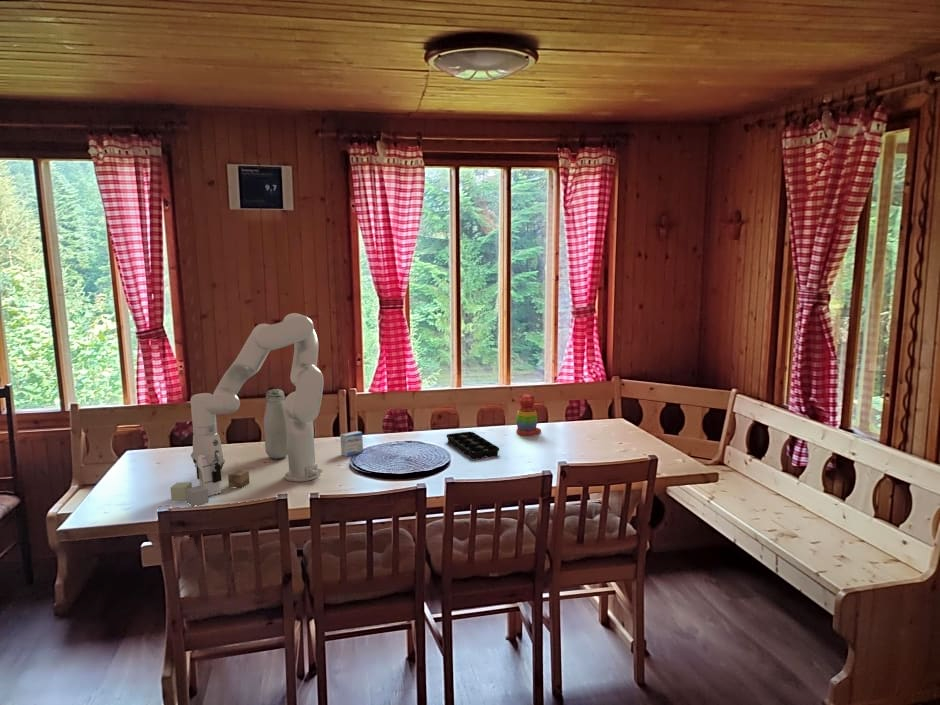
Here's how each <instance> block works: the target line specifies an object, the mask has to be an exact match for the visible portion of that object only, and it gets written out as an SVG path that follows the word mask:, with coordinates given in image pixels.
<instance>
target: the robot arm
mask: <svg viewBox="0 0 940 705" xmlns="http://www.w3.org/2000/svg"><path fill="white" fill-rule="evenodd" d="M314 325H315V324H314V322H313V321H312V319H311V318H309V317H308V316H307V315H305V314H304V315H303V314H300V313H296V312H293V313H291V312H290V313H289V314H287V315H285V316H284V318H283V320H282V321H281V322H280V321H279V322H278V323H273V324H269V323H260V324H257V325H256V326H255V327H254V328H253V329H252V331H251V332H250V335H249V336H248V338H247V339H246V342H245V343H244V344H243V347H242V349H241V350H240V352H239V354H237V357H236V358H235V360H234V361H233V363H232V364H231V365H230V366H229V368H228V369H226V371H225V373H224V374H223V376H222V378H220V381H219V382H218V385H217V386H216V387H215V390H214V391H213V393H210V392H204V393H203V392H202V393H196V394H193V395H191V397H190V408H191V409H190V410H191V421H192V422H191V423H192V434H193V436H192V452H191V453H190V457H191V459H192V461H193V463H194V467H195V468H196V469H195V470H196V478H197V480H199V471H198V462H197V461H198V455H205V457H206V461H207V463H208V464H210V465H211V467H212V469H213V471H212V480H213V483H216V482H219V481H220V482H221V481H222V470H223V468H224V464H225V462H226V459H224V455H223V447H222V442H221V438H220V434H219V433H218V427H217V426H218V424H217V415H231V414H233V413H236V412H237V411H238V409H239V408H240V406H241V400H240V398H239V396H238V393H239V392H240V390H241V388H242V386H243V385H244V384H245V383H246V381H248V379H250V378H251V377H253V376H254V375H256V374H257V373H258V372H259V371H260V370H261V368H262V366H263V364H264V362H265V361H266V359H267V357H268V355H269V353H270V351H274V350H279V349H282V348H284V347H285V348H286V347H288V346H291V345H294V348H293V349H294V350H293V358H292V365H291V371H290V375H289V376H290V382H291V383H292V384H293V386H295V391H293V392H290V393H289V394H288V395H286V396H285V399H284V414H285V420H286V428H287V445H288V455H287V458H288V459H287V460H288V471H287V472H286V473H285V474H284V478H285V480H286V481H290V482H295V483H296V482H300V483H301V482H308V481H311V480H314V479H317V478H319V477H320V476H321V474H322V473H323V469H322V468H318V463H316V454H315V453H316V451H315V436H314V435H315V433H314V432H315V431H314V428H315V427H314V421H315V420H316V419H317V417H318V416H319V413H320V411H321V409H320V408H321V404H322V398H323V391H324V383H325V380H324V374H323V373H322V371H321V370H320V369H319V368H318V359H319V349H320V348H319V340H318V336H317V333H316V331H315V329H314V328H315V326H314ZM215 457H216V458H217V461H215V462H214V460H215ZM216 463H217V466H216V467H215V465H214V464H216Z"/></svg>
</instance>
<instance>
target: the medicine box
mask: <svg viewBox="0 0 940 705" xmlns="http://www.w3.org/2000/svg"><path fill="white" fill-rule="evenodd" d="M339 436H340V453H341V454H340V455H342V456H344V457H347V458H348V457H351V456H355V454H356V455H359V454H358V453H360V454H362V453H361V452H363V453H364V445H363V439H364V438H363V432H362V431H358V430H356V431H355V430H354V431H351V432H350V431H349V432H347V433H346V432H345V433H341V434H340V435H339Z"/></svg>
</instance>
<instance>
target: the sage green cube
mask: <svg viewBox="0 0 940 705" xmlns="http://www.w3.org/2000/svg"><path fill="white" fill-rule="evenodd" d="M192 487H193V482H192V481H188V482H187V481H185V482H183V481H181V482H178V481H177V482H176V483H174V484H173V485H172V486H171V487H170V498H171V499H170V500H171V502H172V501H187V499H186V489H189V488H192Z"/></svg>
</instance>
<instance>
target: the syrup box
mask: <svg viewBox="0 0 940 705" xmlns="http://www.w3.org/2000/svg"><path fill="white" fill-rule="evenodd" d="M215 461H217V458H216V457H215V460H214V462H215ZM197 462H198V471H199V479H198V480H199V485H201V486H203V487H205V488H208V497H210V495H212V496H215V495H214V494H216V495H219V494H218V493H220V494H221V493H222V487H221V486H222V485H221V481H219V482H216V483H213V480H212V471H213V469H212V467H211V465H210V464H208V463H207V461H206V457H205V455H198V461H197ZM214 465H215V467H216V466H217V463H216V464H214Z"/></svg>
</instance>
